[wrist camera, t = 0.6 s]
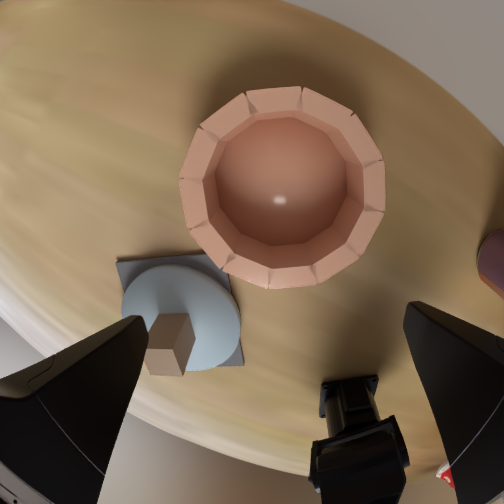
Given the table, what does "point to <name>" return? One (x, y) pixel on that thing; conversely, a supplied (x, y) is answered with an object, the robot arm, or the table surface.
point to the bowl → (283, 187)
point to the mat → (199, 261)
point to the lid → (183, 318)
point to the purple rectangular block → (492, 262)
